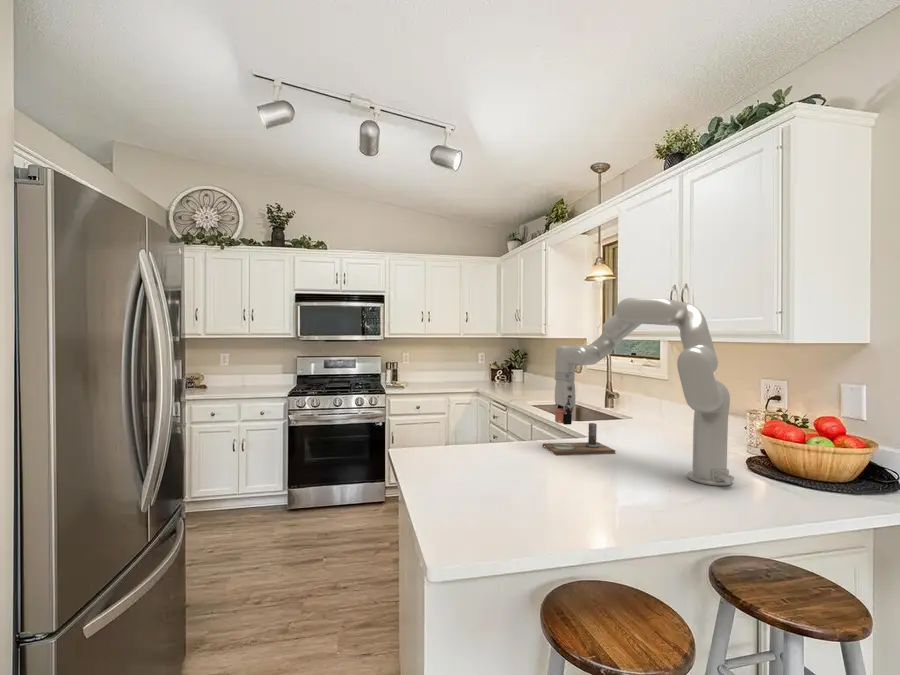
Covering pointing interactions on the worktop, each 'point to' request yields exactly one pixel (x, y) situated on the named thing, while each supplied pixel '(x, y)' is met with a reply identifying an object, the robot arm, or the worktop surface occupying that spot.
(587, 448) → the post board
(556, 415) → the cap
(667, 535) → the worktop surface
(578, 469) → the worktop surface
